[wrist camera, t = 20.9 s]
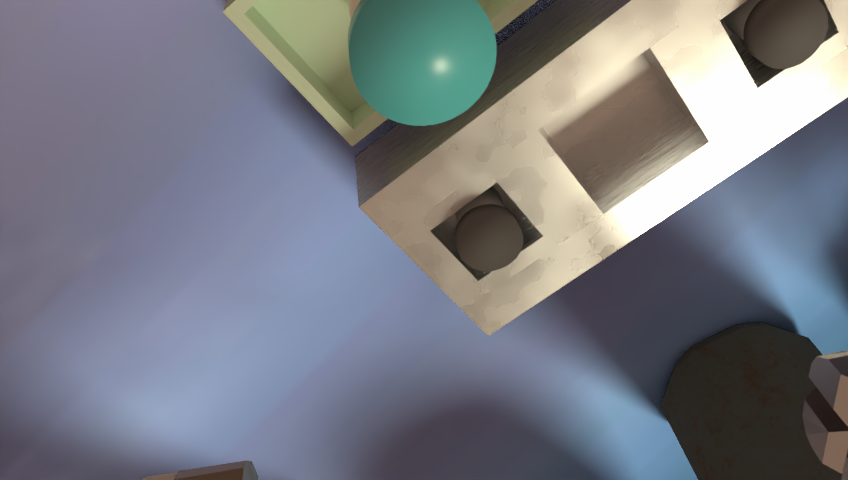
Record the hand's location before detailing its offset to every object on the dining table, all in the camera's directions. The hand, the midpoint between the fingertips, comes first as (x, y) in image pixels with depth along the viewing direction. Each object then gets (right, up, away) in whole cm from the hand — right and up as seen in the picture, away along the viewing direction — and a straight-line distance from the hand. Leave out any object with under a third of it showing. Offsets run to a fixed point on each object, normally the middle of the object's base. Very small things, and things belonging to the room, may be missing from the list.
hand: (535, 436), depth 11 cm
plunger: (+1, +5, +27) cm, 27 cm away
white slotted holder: (+7, +10, +27) cm, 29 cm away
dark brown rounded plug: (+13, +13, +23) cm, 29 cm away
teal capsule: (-3, +14, +22) cm, 27 cm away
